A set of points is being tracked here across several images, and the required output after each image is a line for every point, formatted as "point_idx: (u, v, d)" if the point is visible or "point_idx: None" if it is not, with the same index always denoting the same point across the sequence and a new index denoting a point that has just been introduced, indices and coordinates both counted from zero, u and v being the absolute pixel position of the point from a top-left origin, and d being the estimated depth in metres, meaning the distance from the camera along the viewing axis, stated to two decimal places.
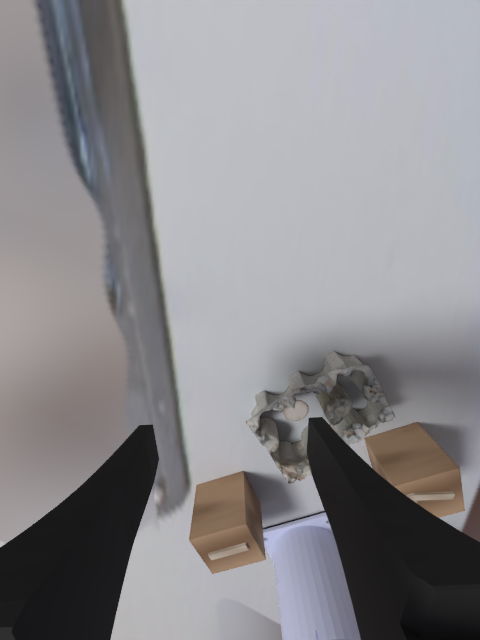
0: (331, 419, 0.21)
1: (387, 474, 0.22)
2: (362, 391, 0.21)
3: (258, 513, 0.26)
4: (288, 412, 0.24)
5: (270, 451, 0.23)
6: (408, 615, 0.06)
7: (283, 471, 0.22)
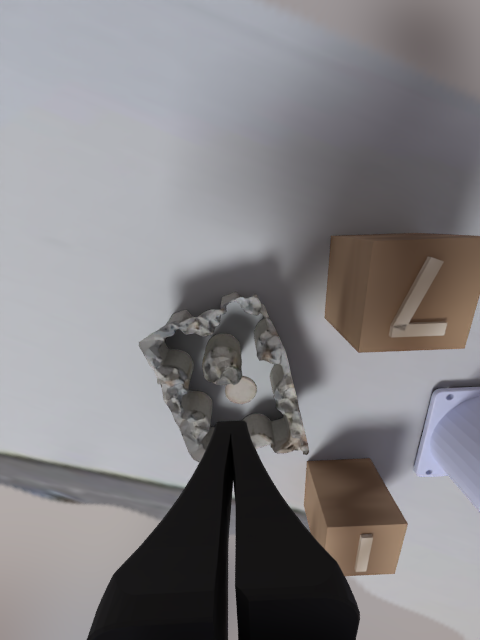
0: (230, 381, 0.15)
1: (350, 341, 0.13)
2: None
3: (366, 477, 0.20)
4: (240, 399, 0.19)
5: (271, 444, 0.18)
6: (241, 624, 0.06)
7: (296, 447, 0.17)
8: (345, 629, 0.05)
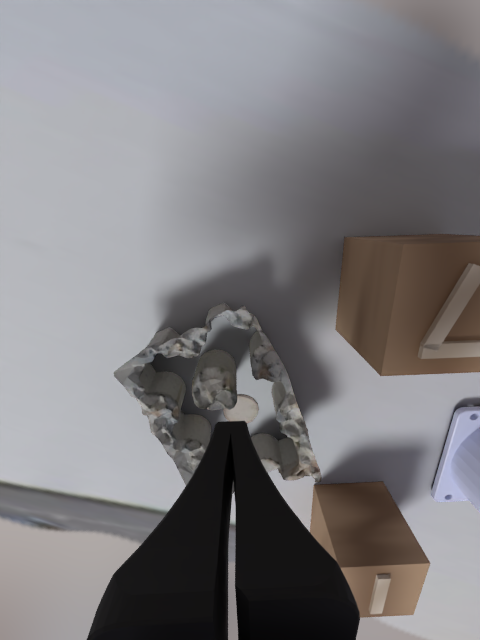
0: (225, 406, 0.14)
1: (369, 361, 0.11)
2: None
3: (380, 504, 0.18)
4: (241, 420, 0.17)
5: (279, 469, 0.16)
6: (241, 624, 0.06)
7: (307, 472, 0.15)
8: (345, 629, 0.05)
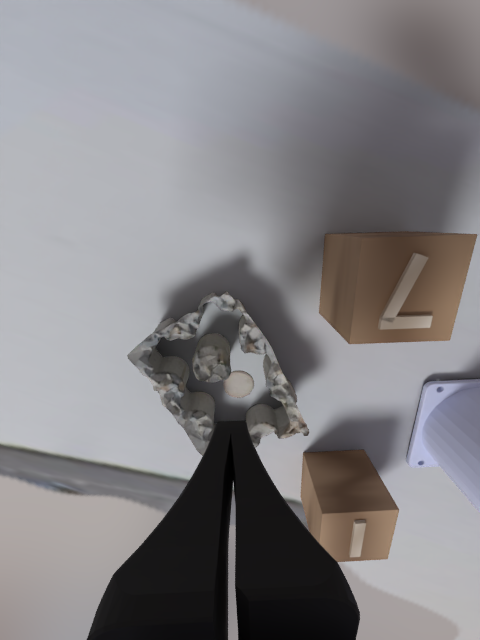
0: (221, 377, 0.16)
1: (341, 334, 0.14)
2: None
3: (360, 466, 0.20)
4: (239, 393, 0.20)
5: (275, 431, 0.19)
6: (241, 624, 0.06)
7: (297, 430, 0.17)
8: (345, 629, 0.05)
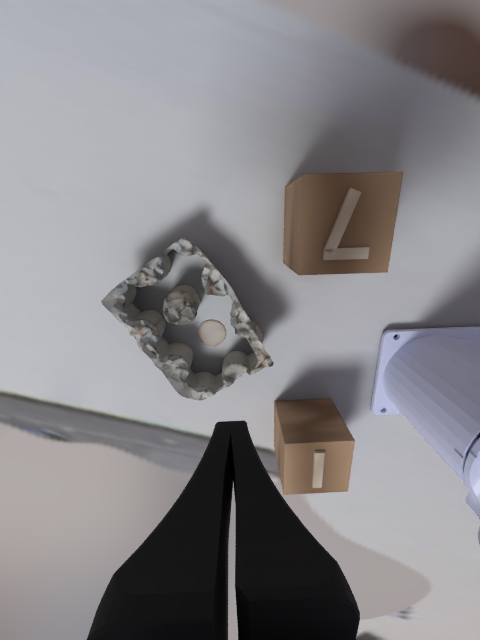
0: (189, 319, 0.18)
1: (294, 270, 0.16)
2: None
3: (325, 410, 0.22)
4: (214, 341, 0.21)
5: None
6: (241, 624, 0.06)
7: (264, 364, 0.19)
8: (345, 629, 0.05)
